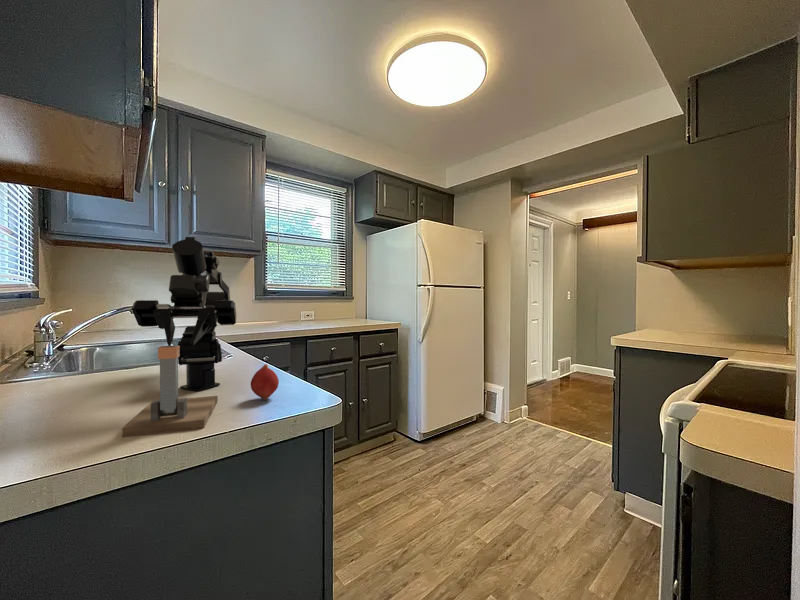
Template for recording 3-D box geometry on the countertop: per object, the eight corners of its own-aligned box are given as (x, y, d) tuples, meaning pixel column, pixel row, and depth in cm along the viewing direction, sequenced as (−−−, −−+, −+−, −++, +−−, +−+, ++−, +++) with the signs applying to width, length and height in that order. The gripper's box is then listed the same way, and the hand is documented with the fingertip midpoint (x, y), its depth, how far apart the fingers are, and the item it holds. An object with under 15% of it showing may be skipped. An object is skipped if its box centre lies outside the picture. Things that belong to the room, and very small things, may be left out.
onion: (245, 402, 76) (245, 365, 76) (261, 394, 82) (261, 360, 82) (268, 404, 75) (268, 367, 75) (283, 396, 80) (283, 362, 80)
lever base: (152, 408, 72) (152, 386, 72) (217, 402, 76) (217, 381, 76) (122, 436, 58) (121, 409, 57) (203, 428, 62) (203, 402, 62)
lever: (162, 414, 63) (161, 346, 63) (179, 412, 64) (179, 345, 64) (158, 418, 61) (158, 347, 61) (177, 416, 62) (176, 347, 62)
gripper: (134, 261, 71) (111, 318, 61) (234, 264, 78) (228, 317, 67) (148, 298, 79) (129, 355, 69) (238, 298, 85) (233, 350, 75)
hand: (180, 344), depth 70 cm, fingers open, 4 cm apart
